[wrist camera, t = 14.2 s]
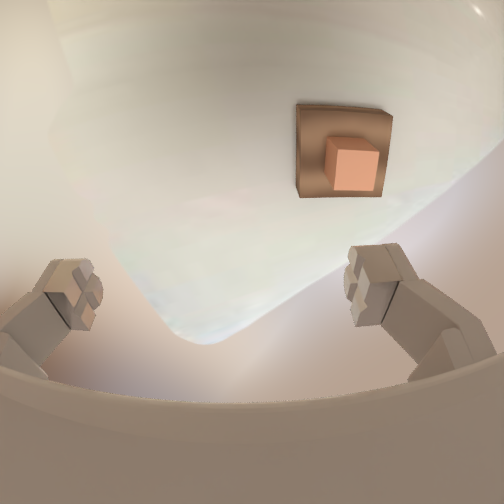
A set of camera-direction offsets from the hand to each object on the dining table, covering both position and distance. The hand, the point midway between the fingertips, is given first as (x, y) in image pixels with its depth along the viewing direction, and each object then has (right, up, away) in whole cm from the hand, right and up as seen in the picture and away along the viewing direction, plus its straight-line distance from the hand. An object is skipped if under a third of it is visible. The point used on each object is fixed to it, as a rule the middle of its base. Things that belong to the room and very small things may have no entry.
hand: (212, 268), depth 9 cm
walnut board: (+13, +15, +29) cm, 35 cm away
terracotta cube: (+13, +13, +26) cm, 31 cm away
